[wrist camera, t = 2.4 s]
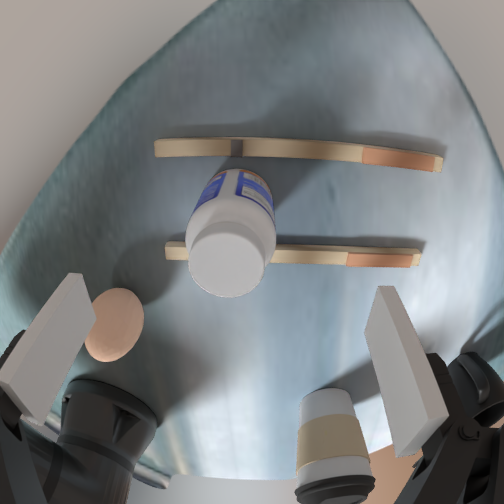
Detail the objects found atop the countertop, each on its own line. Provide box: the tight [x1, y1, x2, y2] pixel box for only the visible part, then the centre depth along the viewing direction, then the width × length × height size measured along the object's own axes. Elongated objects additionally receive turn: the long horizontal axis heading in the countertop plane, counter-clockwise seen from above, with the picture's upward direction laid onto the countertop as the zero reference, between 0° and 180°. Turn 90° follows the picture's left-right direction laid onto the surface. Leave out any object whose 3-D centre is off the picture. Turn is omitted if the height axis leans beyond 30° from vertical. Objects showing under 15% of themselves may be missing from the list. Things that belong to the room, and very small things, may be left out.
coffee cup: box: [295, 388, 375, 504], centre depth 32 cm, size 9×9×15 cm
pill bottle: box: [185, 169, 276, 298], centre depth 21 cm, size 5×5×10 cm
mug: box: [447, 352, 504, 427], centre depth 30 cm, size 8×12×10 cm
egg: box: [84, 288, 144, 362], centre depth 27 cm, size 5×5×8 cm
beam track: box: [154, 137, 444, 268], centre depth 24 cm, size 22×10×1 cm, turn 89°
